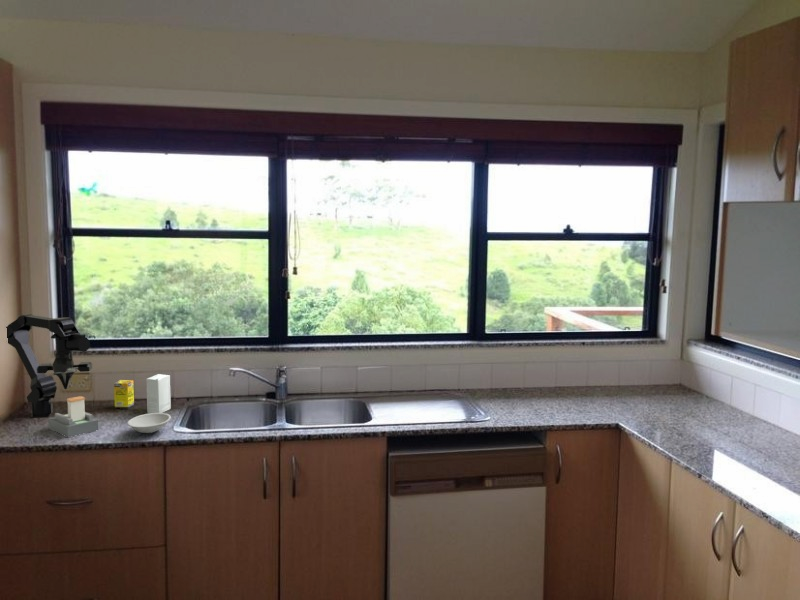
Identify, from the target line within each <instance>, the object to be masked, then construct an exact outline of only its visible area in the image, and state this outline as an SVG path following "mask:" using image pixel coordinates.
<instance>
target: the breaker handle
mask: <svg viewBox="0 0 800 600" xmlns="http://www.w3.org/2000/svg"><path fill="white" fill-rule="evenodd" d="M85 400H86V397H84V396H82V395H80V396H76V397H75V396H73V397H69V398H68V397H67V398H66V402H67V414H68V417H69V418H71V419H73V422H75V421H79V420H84V419H85V412H86V411H85V408H86V407H85Z"/></svg>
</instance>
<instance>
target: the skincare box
mask: <svg viewBox="0 0 800 600" xmlns="http://www.w3.org/2000/svg"><path fill="white" fill-rule="evenodd" d="M145 380H146V403H147V404H146V408H147V409H146V410H147V413H146V414H149V413H165V412H167V411H169V410H171V407H172V405H171V404H172V403H171V402H172V401H171V400H172V399H171V375H170V374H169V375H168V374H161V373H157V374H155V375H152V376H150V377H147V378H146V379H145Z"/></svg>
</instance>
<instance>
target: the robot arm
mask: <svg viewBox="0 0 800 600" xmlns="http://www.w3.org/2000/svg"><path fill="white" fill-rule="evenodd" d="M5 327H6V328H7V338H8V343H7V344H8V345H10V346H12V347H13V348H14V349H15V351H16V353H17V354H18V356H19V359H20V360H21V362H22V364H23V366H24V368H25V369H26V372H27V374H28V376H29V377H30V385H29V386H30V387H29V388H30V390H31V391H30V393H28V394H27V396H26V400H27V402H28V403H31V412H32V413H31V416H30V418H45V417H48V418H49V417H50V416H51V415H52V414H53V413H54V405H53V402H52V399H54V398H55V397H56V393H57V390H58V387H57V382H56V381H55V379H54V377H53V376H56V377H58V378H59V380H60V383H61V385H62V386H63V388H64V390H68V388H69V385H70V382H71V379H72V378H73V376H74V374H75V373H77V371H79V372H81V373H82V372H83V373H84V372H90V371H91V370H92V369H93V362H91V361H81V362H80V363H78V364H74V359H73V358H74V357H73V356H74V355H73V354H74V352H83V353H85V352H87V351H88V350H89V349H90V347H91V346H90V345H91V341H90V340H89V338H88V337H86V334H85V333H81V332H80V329H78V327H77V326H76V323H75V322H74V321H73V319H72V318H71V317H54V318H53V317H46V316H41V315H35V314H31V313H28V314H21V315H20V316H18V317H17V318H16V319H15V320H14V321H12V322H11V323H9V324H8V325H7V326H5ZM33 327H34V328H35V327H36V328H41V329H46V330H49V332H51V333H53V334H52V335H51V336H50V339H54V341H55V358H54V361H53V363H51V362H50V363H49V362H48V363H41V364H40V363H39V361H38V359H37V357H36V355H35V353H34V351H33V349H32V346H31V345H30V333H29V332H31V330H32V328H33ZM48 371H53V376H52V375H47V374H46V373H48Z"/></svg>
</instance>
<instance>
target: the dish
mask: <svg viewBox="0 0 800 600" xmlns="http://www.w3.org/2000/svg"><path fill="white" fill-rule="evenodd" d="M171 419H172V417H171V415H170V414H168V413H165V412H163V413H145V414H140V415H137V416H134V417H132V418H130V419H129V420H128V421H127V426H129V427H130V428H131V429H133V430H134V431H136V432H138V433H143V434H152V433H154V432H157V431H159V430H161V429H163V427H165V426H166V425H167V424H168V422H169V421H170V420H171Z"/></svg>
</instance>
